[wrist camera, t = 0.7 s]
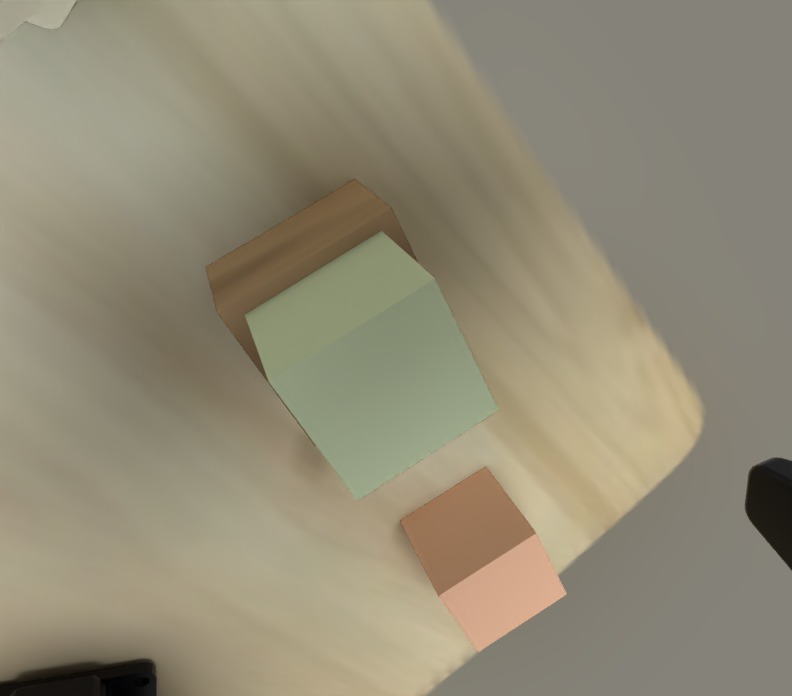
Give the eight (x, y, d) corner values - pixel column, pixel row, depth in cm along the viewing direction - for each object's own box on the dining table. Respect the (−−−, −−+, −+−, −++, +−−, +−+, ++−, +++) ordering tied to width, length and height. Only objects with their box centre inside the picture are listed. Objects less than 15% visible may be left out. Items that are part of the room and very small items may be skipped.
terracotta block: (515, 524, 28) (566, 594, 25) (437, 574, 28) (477, 652, 24) (484, 465, 26) (536, 532, 23) (399, 519, 26) (438, 596, 22)
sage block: (441, 346, 19) (499, 409, 16) (321, 422, 18) (357, 501, 15) (381, 230, 16) (435, 278, 13) (244, 314, 16) (268, 382, 13)
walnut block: (419, 308, 22) (462, 354, 19) (291, 386, 22) (315, 446, 19) (353, 177, 19) (391, 208, 16) (204, 265, 19) (217, 312, 16)
